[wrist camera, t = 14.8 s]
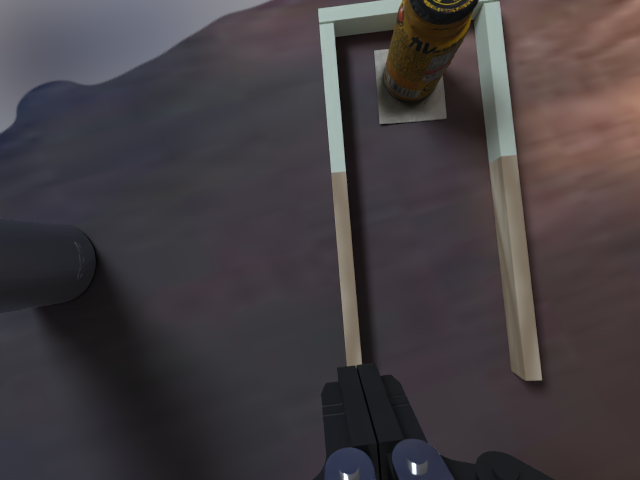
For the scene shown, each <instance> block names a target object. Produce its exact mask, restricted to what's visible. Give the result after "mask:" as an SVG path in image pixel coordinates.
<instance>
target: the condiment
mask: <svg viewBox="0 0 640 480" xmlns="http://www.w3.org/2000/svg"><path fill="white" fill-rule="evenodd" d="M478 1H479V0H402V2H401V5H400V7H399V10H398V15H397V18H396V23H395V27H394V31H393V36H392V40H391V44H390V48H389V49H386V50H376V51H374V53H375V68H376V82H377V93H378V108H379V121H380V124H386V123H388V124H390V123H404V122H415V121H418V122H419V121H425V120H436V119H447V117H446V105H445V91H444V82H443V75H444V73H445V71H446V69H447V67H448V66H449V65H450V63H451V60H452V59H453V58H454V55H455V53H456V51H457V49H458V48H459V47H460V45H461V43H462V42H463V39H464V37H465V35H466V33H467V31H468V29H469V26H470V23H471V18H472V13H473V11H474V8H475V7H476V5H477V4H478ZM426 99H428V100H427V101H426ZM424 102H426V103H425V104H424Z"/></svg>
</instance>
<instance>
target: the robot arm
mask: <svg viewBox="0 0 640 480" xmlns="http://www.w3.org/2000/svg"><path fill="white" fill-rule="evenodd" d="M95 266H96V258H95V252H94V249H93V246H92V244H91V242H90V241H89V239H88V238H87V237H86V236H85V235H84V234H83V233H82V232H81V231H80V230H78V229H76V228H74V227H72V226H69V225H61V224H52V223H43V222H34V221H26V220H17V219H7V218H0V313H5V312H11V311H17V310H22V309H29V308H35V307H41V306H46V305H52V304H58V303H64V302H67V301H71V300H73V299H75V298H76V297H78V296H79V295H81V294H82V293H83V292H84V291H85V290H86V288H87V287H88V286H89V285H90V282H91V280H92V278H93V276H94V272H95ZM337 371H338V381H339V382H332V383H326V384H325V386H324V389H323V391H322V393H321V397H322V409H323V421H324V433H325V445H326V461H325V464H324V467H323V469H322V470H321V472H320V473H319V474H318V475H317V476H316V477H315V478H314V479H313V480H554V479H552V478H550V477H549V476H547V475H545V474H543V473H541V472H540V471H538V470H536V469H534V468H533V467H531V466H529V465H527V464H525V463H524V462H522V461H520V460H518V459H516V458H515V457H513V456H511V455H508V454H506V453H502V452H496V451H490V452H486V453H483V454H482V455H480V456H479V457H478V459H477V461H476V464H471V463H466V462H460V461H455V460H451V459H448V458H446V457H444V456H442V455H440V454H439V452H438V451H437V450H436V449H435V448H434V447H433V446H432V445H430V444H429V443H428V442H427V440H426V438H425V436H424V434H423V431H422V429H421V427H420V425H419V423H418V421H417V418H416V416H415V414H414V412H413V410H412V408H411V405H410V404H409V401H408V399H407V397H406V396H405V392H404V390H403V388H402V386H401V384H400V382H399V381H397V380H396V379H395V378H394V377H393V376H392V375H384V376H380V374H379V372H378V369H377V366H376V364H375V363H368V364H360V365H356V366H355V365H353V366H346V367H338V368H337Z"/></svg>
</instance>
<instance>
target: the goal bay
mask: <svg viewBox="0 0 640 480" xmlns="http://www.w3.org/2000/svg"><path fill="white" fill-rule="evenodd" d="M401 2H402V0H382V1H374V2H367V3H359V4H352V5H344V6H337V7H329V8H322V9H318V13H319V25H320V38H321V50H322V62H323V75H324V87H325V99H326V112H327V124H328V137H329V149H330V161H331V173H334V172H345V171H346V167H345V155H344V143H343V131H342V119H341V107H340V95H339V83H338V71H337V59H336V47H335V37H340V36H348V35H356V34H364V33H372V32H379V31H387V30H394V27H395V23H396V18H397V15H398V10H399V7H400V5H401ZM474 19H475V21H474V28H475V37H476V46H477V56H478V65H479V74H480V84H481V93H482V102H483V111H484V121H485V130H486V139H487V149H488V158H489V164H490V163H491V162H493V161H494V160H496V159H498V158H499V157H501V156H510V155H517V153H516V144H515V135H514V126H513V117H512V109H511V100H510V91H509V82H508V73H507V64H506V55H505V46H504V38H503V29H502V20H501V11H500V2H499V1H498V0H479V1H478V4H477V5H476V7H475V8H474V11H473V13H472V18H471V20H474Z"/></svg>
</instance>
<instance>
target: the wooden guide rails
mask: <svg viewBox="0 0 640 480" xmlns="http://www.w3.org/2000/svg"><path fill="white" fill-rule="evenodd" d="M489 167H490V176H491V186H492V195H493V204H494V213H495V223H496V232H497V241H498V251H499V260H500V269H501V278H502V288H503V297H504V306H505V315H506V325H507V334H508V343H509V353H510V362H511V371H512V372H514V373H515V374H517V375H518V376H519V377H521V378H522V379H524V380H525V381H535V380H542V375H541V366H540V357H539V348H538V339H537V330H536V322H535V313H534V304H533V295H532V286H531V277H530V268H529V259H528V251H527V242H526V233H525V224H524V215H523V206H522V197H521V188H520V180H519V171H518V162H517V155H510V156H501V157H499V158H498V159H496V160H494V161H493V162H491V163H490V164H489ZM331 174H332V186H333V198H334V211H335V223H336V236H337V248H338V260H339V273H340V285H341V297H342V310H343V322H344V335H345V347H346V359H347V366H353V365H355V366H356V365H360V364H362V359H361V347H360V335H359V323H358V311H357V299H356V287H355V275H354V263H353V251H352V239H351V227H350V215H349V203H348V191H347V179H346V171H345V172H334V173H331Z"/></svg>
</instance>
